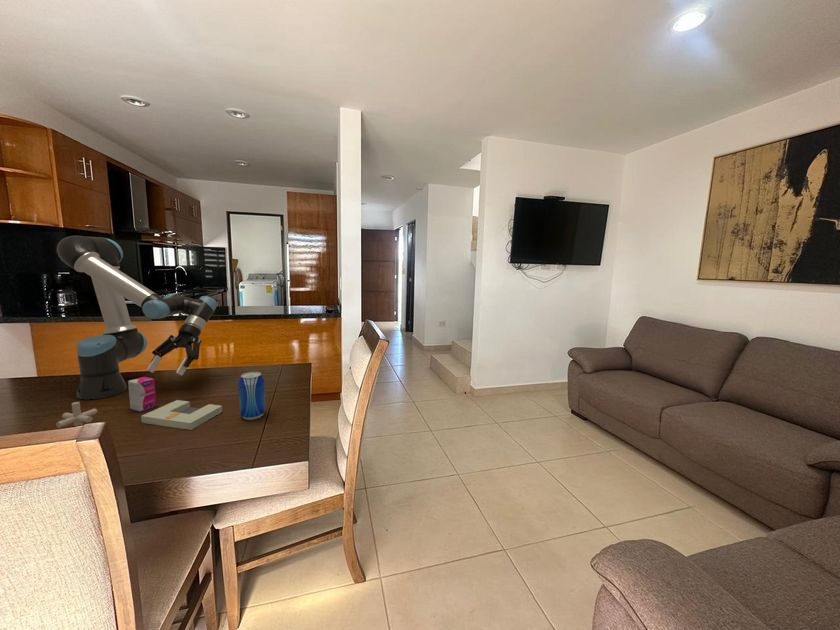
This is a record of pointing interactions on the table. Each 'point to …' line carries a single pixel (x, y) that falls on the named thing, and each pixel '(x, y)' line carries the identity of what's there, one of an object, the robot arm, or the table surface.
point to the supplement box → (142, 394)
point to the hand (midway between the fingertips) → (164, 372)
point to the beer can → (251, 395)
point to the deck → (181, 415)
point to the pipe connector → (76, 416)
